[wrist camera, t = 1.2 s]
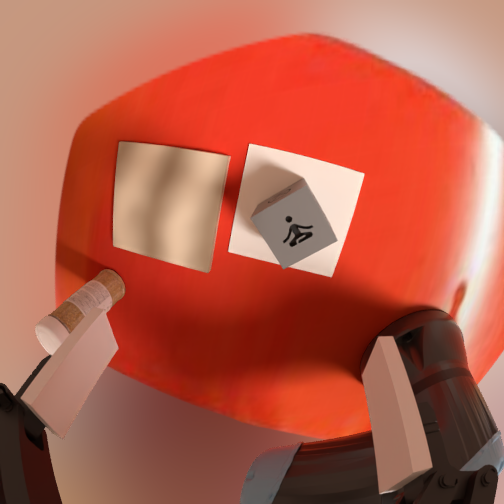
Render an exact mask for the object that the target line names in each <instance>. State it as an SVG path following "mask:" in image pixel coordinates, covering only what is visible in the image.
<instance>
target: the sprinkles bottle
mask: <svg viewBox="0 0 504 504" xmlns="http://www.w3.org/2000/svg"><path fill="white" fill-rule="evenodd" d="M124 294H125V285H124V282H123V280H122V278H121V277H120V276H119V275H118V274H117V273H116V272H115V271H113V270H111V269H104V270H102V271H101V272H100V273H99V275H97V276H96V277H95V278H94V279H92V280H91V281H89V282H88V283H86V284H85V285H84V286H83V287H81V288H80V289H79V290H78V291H76V292H75V293H74V294H73V295H71V296H70V297H69V298H68V299H67V300H65V301H64V302H63V304H62V305H60V306H59V307H58V308H57V309H56V310H55V311H53V312H52V313H51V314H49V315H48V316H45V317H44V318H43V319H42V320H41V321H40V322H39V323H38V324H37V325H36V328H35V331H36V336H37V338H38V340H39V342H40V343H41V345H42V346H43V348H44V349H45V350H46V351H47V352H48V353H49V354H50V355H53V354H54V353H55V351H56V350H57V349H58V348H59V347H60V345H61V344H62V343H63V342H64V340H65V339H66V338H67V337H68V336H69V334H70V333H71V332H72V331H73V330H74V329H75V327H76V326H77V325H78V324H79V323H80V322H81V320H82V319H83V318H84V317H85V316H86V315H87V314H88V313H89V311H90V310H91V309H92V308H93V307H96V308H100V309H104V310H105V312H106V313H107V312H108V311H109V310H110V309H111V307H112V306H113V305H114V304H115V303H116V302H117V301H118V300H120V299H121V298H122V297H123V296H124Z"/></svg>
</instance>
